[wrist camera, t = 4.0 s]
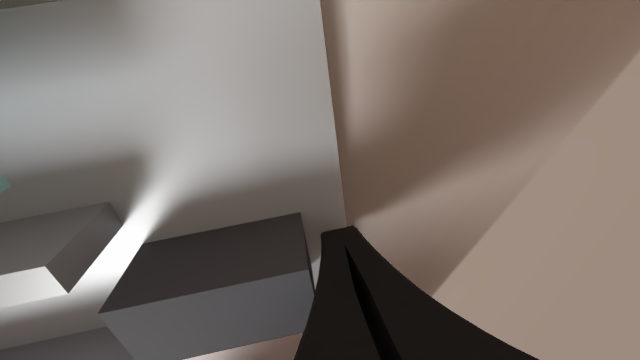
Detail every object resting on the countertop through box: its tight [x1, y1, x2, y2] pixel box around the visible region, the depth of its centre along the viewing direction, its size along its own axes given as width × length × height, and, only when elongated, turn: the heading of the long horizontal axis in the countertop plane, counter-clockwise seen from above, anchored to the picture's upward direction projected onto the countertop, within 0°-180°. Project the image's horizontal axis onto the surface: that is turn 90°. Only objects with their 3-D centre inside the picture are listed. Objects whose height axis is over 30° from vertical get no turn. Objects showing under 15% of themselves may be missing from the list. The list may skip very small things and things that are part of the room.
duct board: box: [0, 0, 347, 360], centre depth 9 cm, size 13×18×4 cm
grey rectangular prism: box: [97, 212, 315, 360], centre depth 10 cm, size 3×6×3 cm, turn 98°
